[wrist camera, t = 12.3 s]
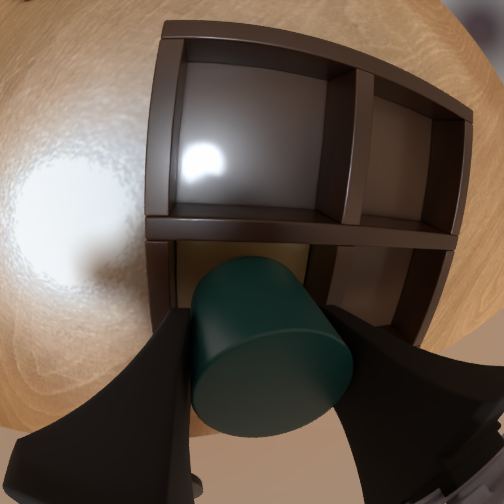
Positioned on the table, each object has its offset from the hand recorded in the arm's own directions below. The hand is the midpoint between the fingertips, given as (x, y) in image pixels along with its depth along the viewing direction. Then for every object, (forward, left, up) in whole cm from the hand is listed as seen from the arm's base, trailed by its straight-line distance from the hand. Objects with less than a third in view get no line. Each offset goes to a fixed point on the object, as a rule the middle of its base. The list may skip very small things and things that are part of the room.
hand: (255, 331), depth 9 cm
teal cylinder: (0, 0, -1) cm, 1 cm away
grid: (+3, -3, -4) cm, 6 cm away
